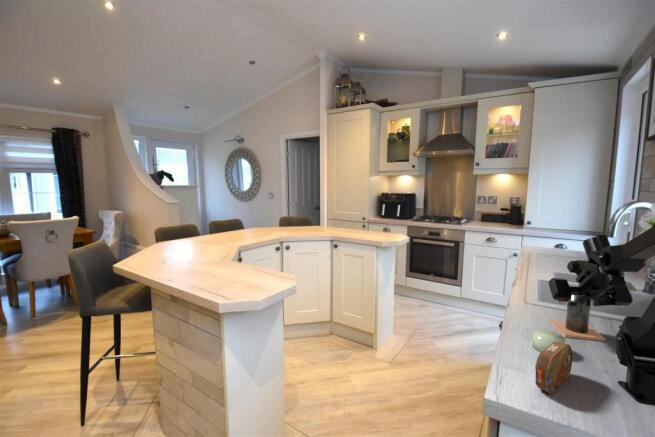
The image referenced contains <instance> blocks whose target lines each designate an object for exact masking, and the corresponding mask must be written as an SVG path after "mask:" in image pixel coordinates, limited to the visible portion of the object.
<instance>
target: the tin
mask: <svg viewBox="0 0 655 437" xmlns="http://www.w3.org/2000/svg"><path fill="white" fill-rule="evenodd" d="M572 350H573V349H572V347H571V345H570V344H568V343H565V344H564V343H560V342H554V343H552V344H551V345H550V346H549V347H547V348H546V349H545V350H544V351H542V352H541V353H540V352H539V355H538V356H537V360H536V363H535V368H534V369H535V385H536V387H537V388H539V389H540V390H542V391H545V392H547V393H549V394H552V395H553V394H555V393H556V392H557V391H558V390H559V389H560V388H561V386H562V385H564V383H565V382H567V380H568V378H569V376H570V374H571V370H572V363H573V351H572Z"/></svg>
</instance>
